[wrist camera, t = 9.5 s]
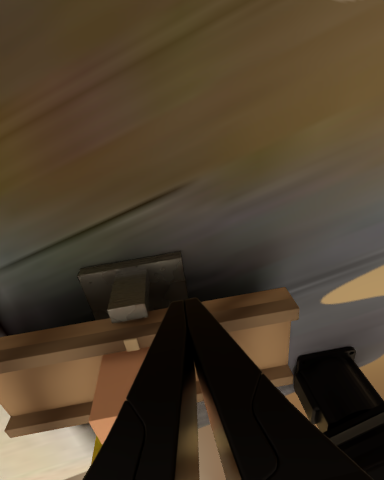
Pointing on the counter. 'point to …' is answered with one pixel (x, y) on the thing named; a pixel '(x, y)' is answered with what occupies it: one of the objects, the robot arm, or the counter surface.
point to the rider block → (113, 388)
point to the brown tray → (127, 339)
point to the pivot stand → (133, 286)
